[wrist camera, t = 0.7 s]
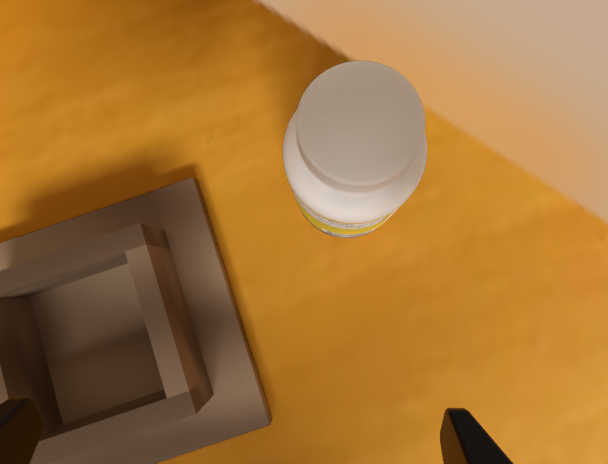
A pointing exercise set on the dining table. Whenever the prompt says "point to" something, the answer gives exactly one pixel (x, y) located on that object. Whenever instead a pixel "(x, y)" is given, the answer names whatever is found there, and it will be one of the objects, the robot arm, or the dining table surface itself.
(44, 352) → the socket holder
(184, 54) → the dining table surface
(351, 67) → the supplement bottle
